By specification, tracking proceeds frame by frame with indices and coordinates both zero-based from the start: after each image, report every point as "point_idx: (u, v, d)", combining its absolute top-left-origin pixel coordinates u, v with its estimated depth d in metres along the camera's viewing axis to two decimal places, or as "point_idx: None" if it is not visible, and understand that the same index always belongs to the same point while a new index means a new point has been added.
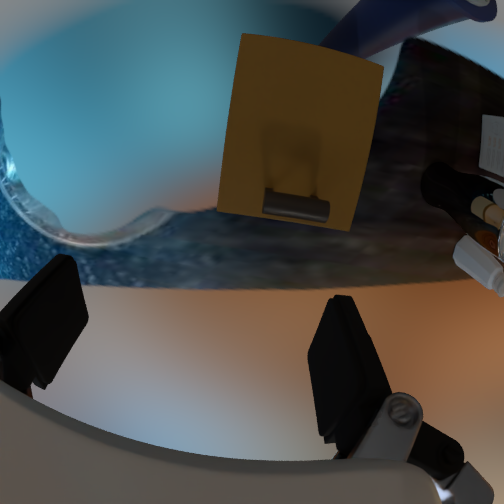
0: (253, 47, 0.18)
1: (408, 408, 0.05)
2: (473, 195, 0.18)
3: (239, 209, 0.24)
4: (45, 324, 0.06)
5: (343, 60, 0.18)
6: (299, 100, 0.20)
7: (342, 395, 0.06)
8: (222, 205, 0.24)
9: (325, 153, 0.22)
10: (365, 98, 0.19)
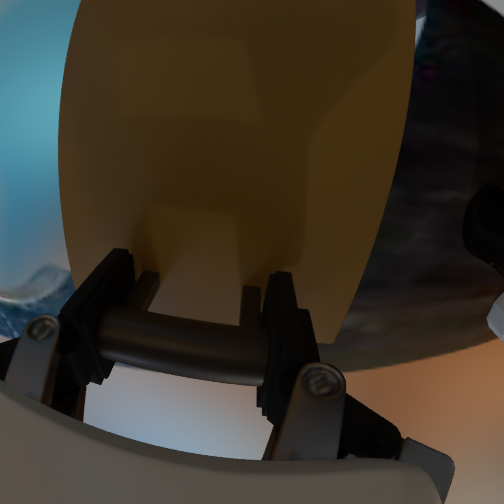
0: None
1: (327, 376, 0.06)
2: None
3: None
4: None
5: None
6: (203, 54, 0.07)
7: None
8: None
9: (277, 185, 0.09)
10: (381, 44, 0.06)
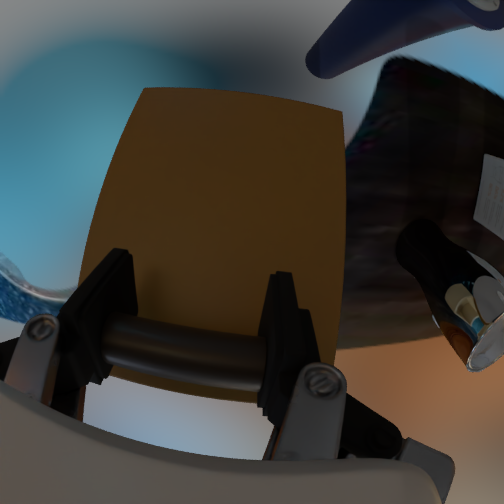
0: (153, 100, 0.14)
1: (328, 376, 0.06)
2: (451, 289, 0.16)
3: None
4: None
5: (280, 106, 0.14)
6: (211, 164, 0.13)
7: (268, 362, 0.07)
8: None
9: (261, 253, 0.12)
10: (322, 154, 0.14)
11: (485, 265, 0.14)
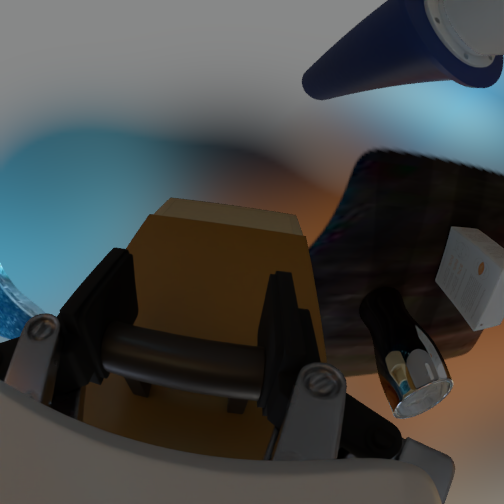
0: (156, 223, 0.20)
1: (327, 376, 0.06)
2: (388, 360, 0.22)
3: None
4: (107, 317, 0.07)
5: (257, 233, 0.20)
6: (204, 268, 0.17)
7: (268, 362, 0.07)
8: None
9: (248, 329, 0.13)
10: (292, 263, 0.18)
11: (420, 343, 0.21)
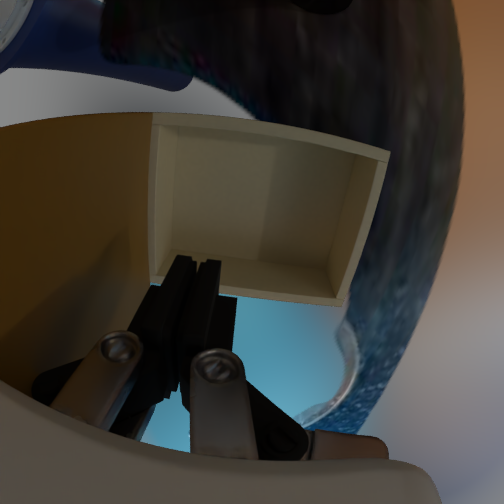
0: None
1: (222, 361, 0.06)
2: None
3: None
4: None
5: None
6: None
7: None
8: None
9: None
10: None
11: None
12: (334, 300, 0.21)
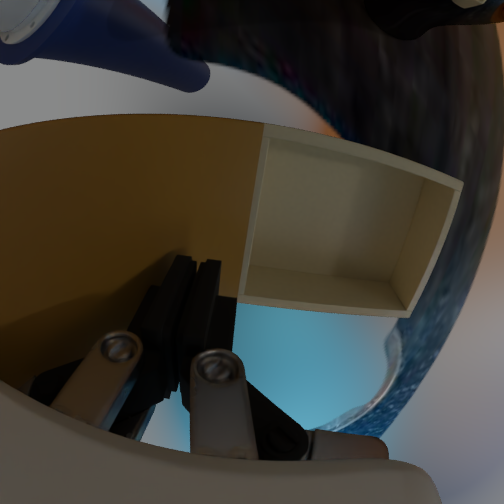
0: None
1: (223, 361, 0.06)
2: (455, 2, 0.06)
3: None
4: None
5: None
6: None
7: None
8: None
9: None
10: None
11: None
12: (404, 312, 0.21)
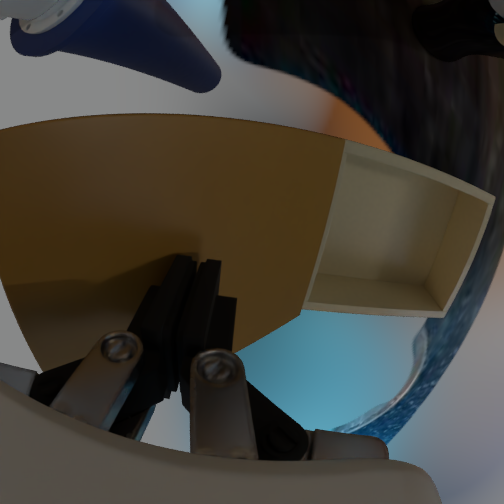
0: None
1: (222, 361, 0.06)
2: None
3: None
4: None
5: None
6: None
7: None
8: None
9: None
10: None
11: None
12: (441, 312, 0.21)
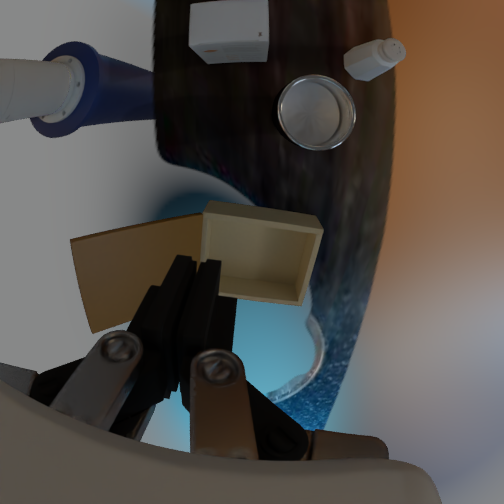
0: None
1: (223, 361, 0.06)
2: None
3: None
4: None
5: None
6: None
7: None
8: None
9: None
10: None
11: (272, 114, 0.24)
12: (297, 302, 0.40)
